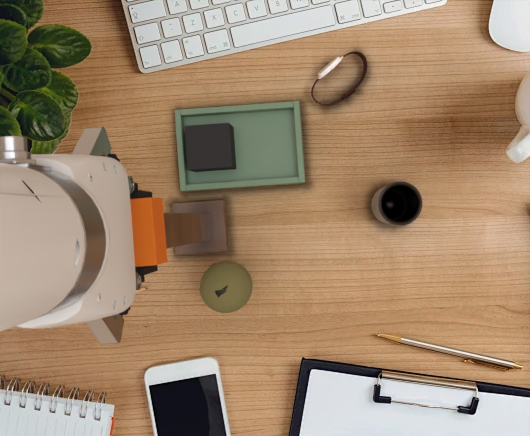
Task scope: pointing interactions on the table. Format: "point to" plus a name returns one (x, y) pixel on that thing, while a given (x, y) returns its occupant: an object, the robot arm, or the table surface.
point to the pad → (210, 147)
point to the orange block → (148, 231)
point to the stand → (197, 227)
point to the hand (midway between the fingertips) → (135, 232)
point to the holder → (248, 146)
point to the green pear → (226, 286)
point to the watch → (331, 66)
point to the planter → (397, 203)
